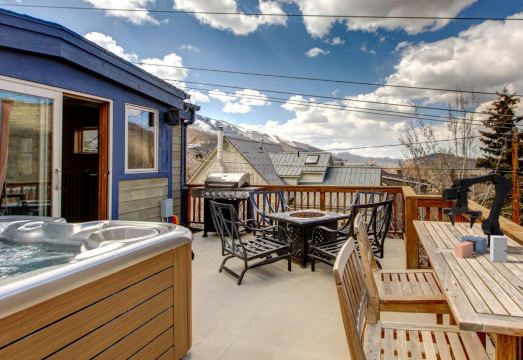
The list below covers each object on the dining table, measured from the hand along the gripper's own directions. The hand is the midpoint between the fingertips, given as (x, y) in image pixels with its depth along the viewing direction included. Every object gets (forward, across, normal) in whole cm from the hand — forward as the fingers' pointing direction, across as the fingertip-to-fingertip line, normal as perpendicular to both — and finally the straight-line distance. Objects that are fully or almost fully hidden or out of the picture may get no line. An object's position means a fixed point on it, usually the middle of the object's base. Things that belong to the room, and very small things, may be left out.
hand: (462, 227), depth 185 cm
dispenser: (+12, +7, -2) cm, 14 cm away
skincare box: (+12, +22, -13) cm, 28 cm away
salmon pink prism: (+12, +7, -14) cm, 20 cm away
